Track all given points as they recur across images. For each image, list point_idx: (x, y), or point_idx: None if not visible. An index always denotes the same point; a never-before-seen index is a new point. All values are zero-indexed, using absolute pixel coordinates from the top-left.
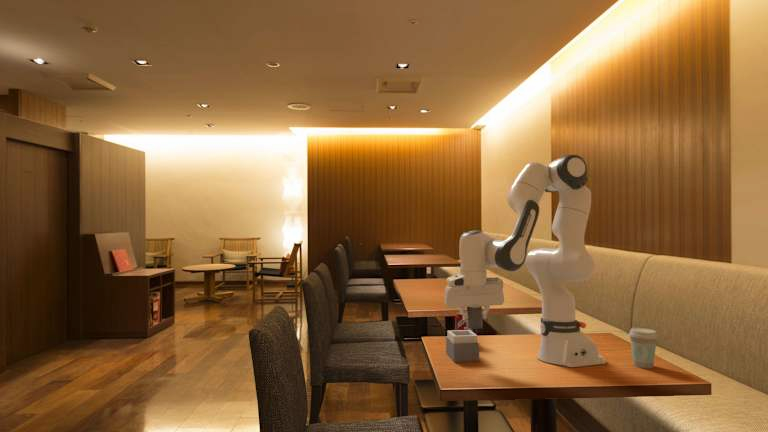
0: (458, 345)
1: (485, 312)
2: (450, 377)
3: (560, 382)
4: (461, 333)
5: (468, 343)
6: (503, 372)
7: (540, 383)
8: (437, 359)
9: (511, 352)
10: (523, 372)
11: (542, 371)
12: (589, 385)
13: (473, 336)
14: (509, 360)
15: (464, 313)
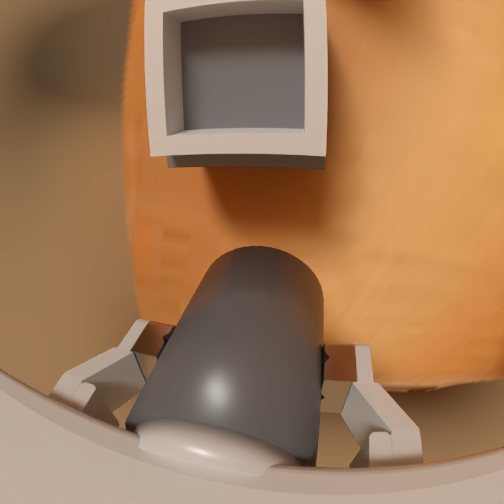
0: (196, 166)
1: (348, 427)
2: (165, 304)
3: (440, 368)
4: (248, 6)
5: (259, 154)
6: (352, 295)
7: (394, 372)
8: (139, 112)
9: (497, 72)
10: (413, 302)
11: (467, 300)
12: (473, 380)
13: (294, 153)
14: (448, 170)
15: (129, 396)
